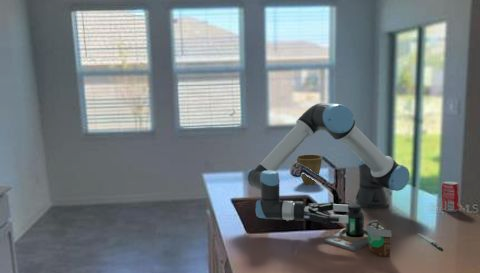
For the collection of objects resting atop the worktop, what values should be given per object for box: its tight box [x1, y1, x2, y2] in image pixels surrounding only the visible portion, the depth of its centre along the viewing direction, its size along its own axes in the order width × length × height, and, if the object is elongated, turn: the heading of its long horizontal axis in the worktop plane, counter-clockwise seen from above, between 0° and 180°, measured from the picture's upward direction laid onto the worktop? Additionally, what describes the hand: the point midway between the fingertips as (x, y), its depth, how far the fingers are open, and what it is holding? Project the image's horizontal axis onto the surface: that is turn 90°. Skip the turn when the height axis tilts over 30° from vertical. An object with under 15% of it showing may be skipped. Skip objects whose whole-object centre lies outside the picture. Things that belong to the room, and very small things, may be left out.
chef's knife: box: [416, 232, 444, 251], centre depth 159 cm, size 19×1×3 cm
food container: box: [365, 219, 393, 258], centre depth 149 cm, size 12×6×10 cm, turn 5°
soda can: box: [441, 180, 460, 213], centre depth 192 cm, size 7×7×13 cm
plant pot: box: [295, 154, 323, 185], centre depth 250 cm, size 15×15×16 cm
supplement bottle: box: [345, 203, 365, 238], centre depth 163 cm, size 7×7×12 cm
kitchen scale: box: [323, 227, 369, 252], centre depth 162 cm, size 13×17×2 cm
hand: (349, 213), depth 163 cm, fingers open, 13 cm apart
